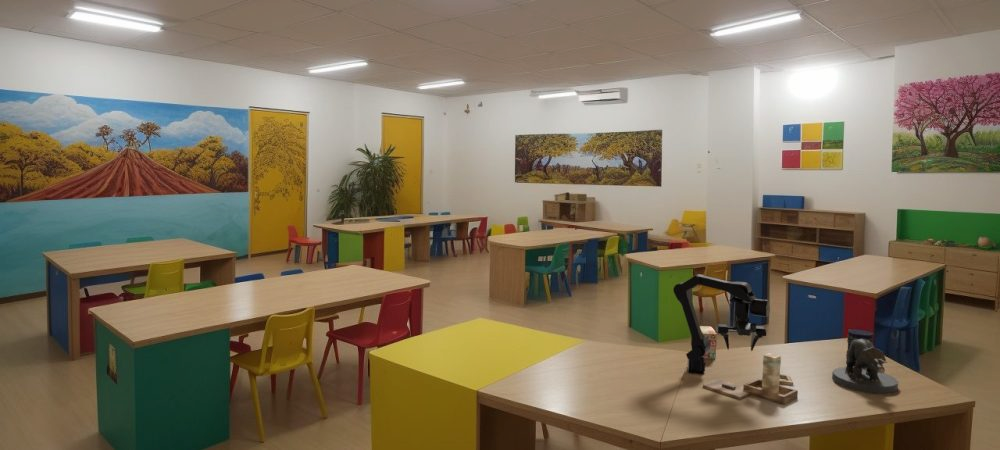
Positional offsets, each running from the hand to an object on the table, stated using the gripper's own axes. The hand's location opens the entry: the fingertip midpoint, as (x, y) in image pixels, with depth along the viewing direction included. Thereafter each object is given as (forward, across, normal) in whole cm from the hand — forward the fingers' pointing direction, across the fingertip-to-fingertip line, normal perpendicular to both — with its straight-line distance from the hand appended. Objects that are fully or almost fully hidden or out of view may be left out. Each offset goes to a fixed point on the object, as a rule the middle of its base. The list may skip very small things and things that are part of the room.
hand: (739, 350), depth 246 cm
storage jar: (+13, +58, +33) cm, 68 cm away
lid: (+13, -6, -12) cm, 19 cm away
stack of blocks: (+13, -8, +38) cm, 41 cm away
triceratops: (+13, +51, +8) cm, 53 cm away
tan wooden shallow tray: (+13, +9, -14) cm, 21 cm away
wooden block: (+12, +9, -14) cm, 21 cm away
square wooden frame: (+13, +17, +4) cm, 22 cm away
